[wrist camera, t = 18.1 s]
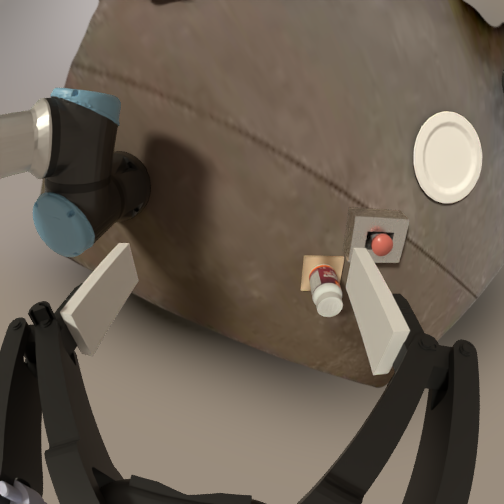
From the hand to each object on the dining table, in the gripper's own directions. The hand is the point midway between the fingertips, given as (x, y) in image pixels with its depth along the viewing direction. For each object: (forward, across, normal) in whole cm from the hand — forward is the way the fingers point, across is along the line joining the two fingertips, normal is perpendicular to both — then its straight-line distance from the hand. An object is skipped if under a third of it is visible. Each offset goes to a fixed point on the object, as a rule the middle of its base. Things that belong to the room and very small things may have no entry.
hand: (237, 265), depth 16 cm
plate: (+39, +41, +4) cm, 57 cm away
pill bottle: (+38, +14, -26) cm, 48 cm away
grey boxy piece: (+39, +24, -15) cm, 48 cm away
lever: (+38, +24, -15) cm, 47 cm away
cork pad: (+39, +14, -26) cm, 49 cm away
